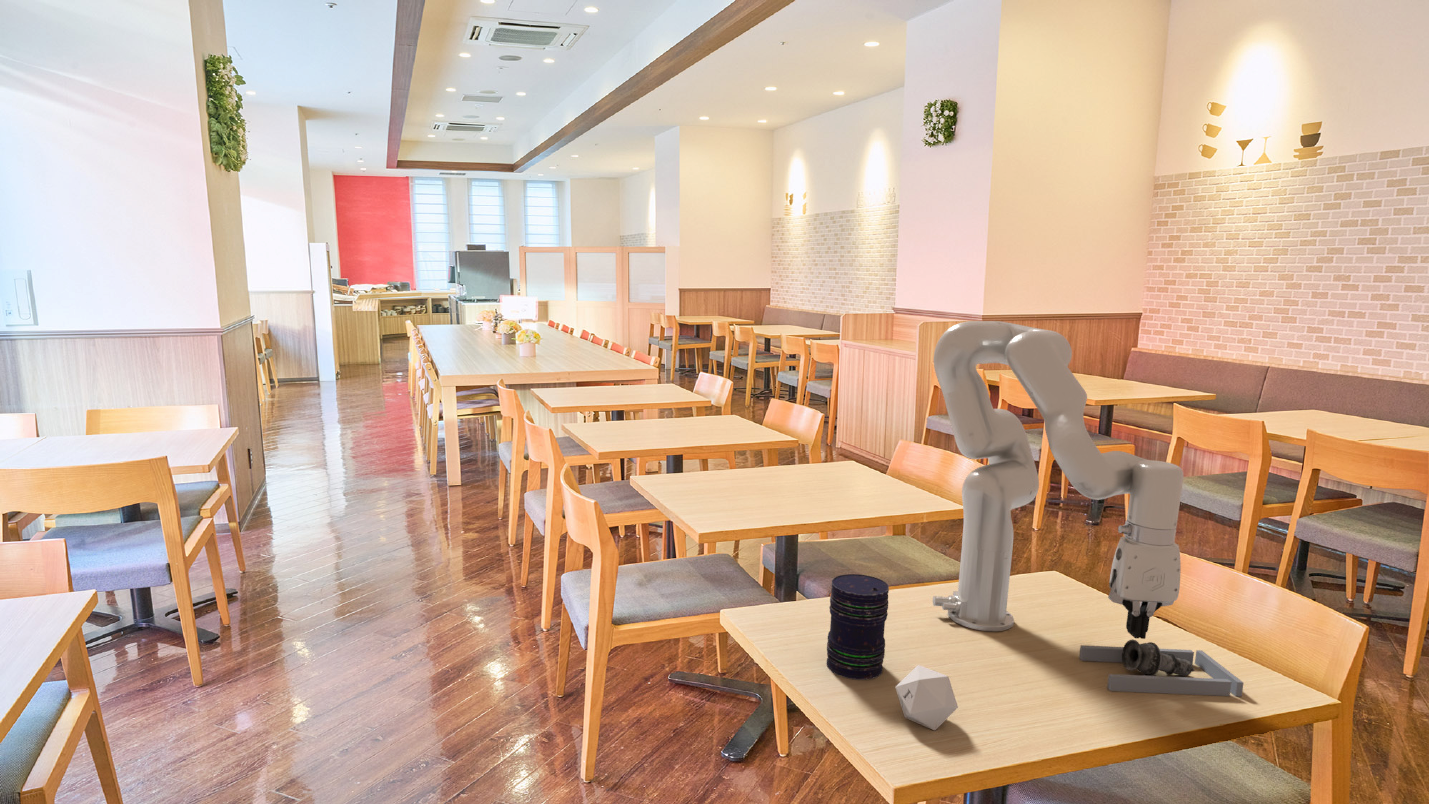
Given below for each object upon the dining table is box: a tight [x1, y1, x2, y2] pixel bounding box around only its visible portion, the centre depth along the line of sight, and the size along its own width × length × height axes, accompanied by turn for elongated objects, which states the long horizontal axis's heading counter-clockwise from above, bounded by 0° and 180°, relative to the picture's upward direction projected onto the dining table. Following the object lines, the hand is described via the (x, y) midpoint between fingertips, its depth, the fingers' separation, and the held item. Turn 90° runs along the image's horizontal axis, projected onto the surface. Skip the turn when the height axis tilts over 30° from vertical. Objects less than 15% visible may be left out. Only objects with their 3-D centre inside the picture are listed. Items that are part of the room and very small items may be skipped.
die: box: [894, 664, 959, 731], centre depth 125 cm, size 8×9×10 cm
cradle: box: [1078, 644, 1244, 698], centre depth 143 cm, size 22×12×2 cm, turn 90°
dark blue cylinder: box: [826, 573, 890, 681], centre depth 141 cm, size 10×10×15 cm
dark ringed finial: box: [1121, 639, 1195, 677], centre depth 144 cm, size 6×6×12 cm
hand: (1135, 635), depth 142 cm, fingers closed
